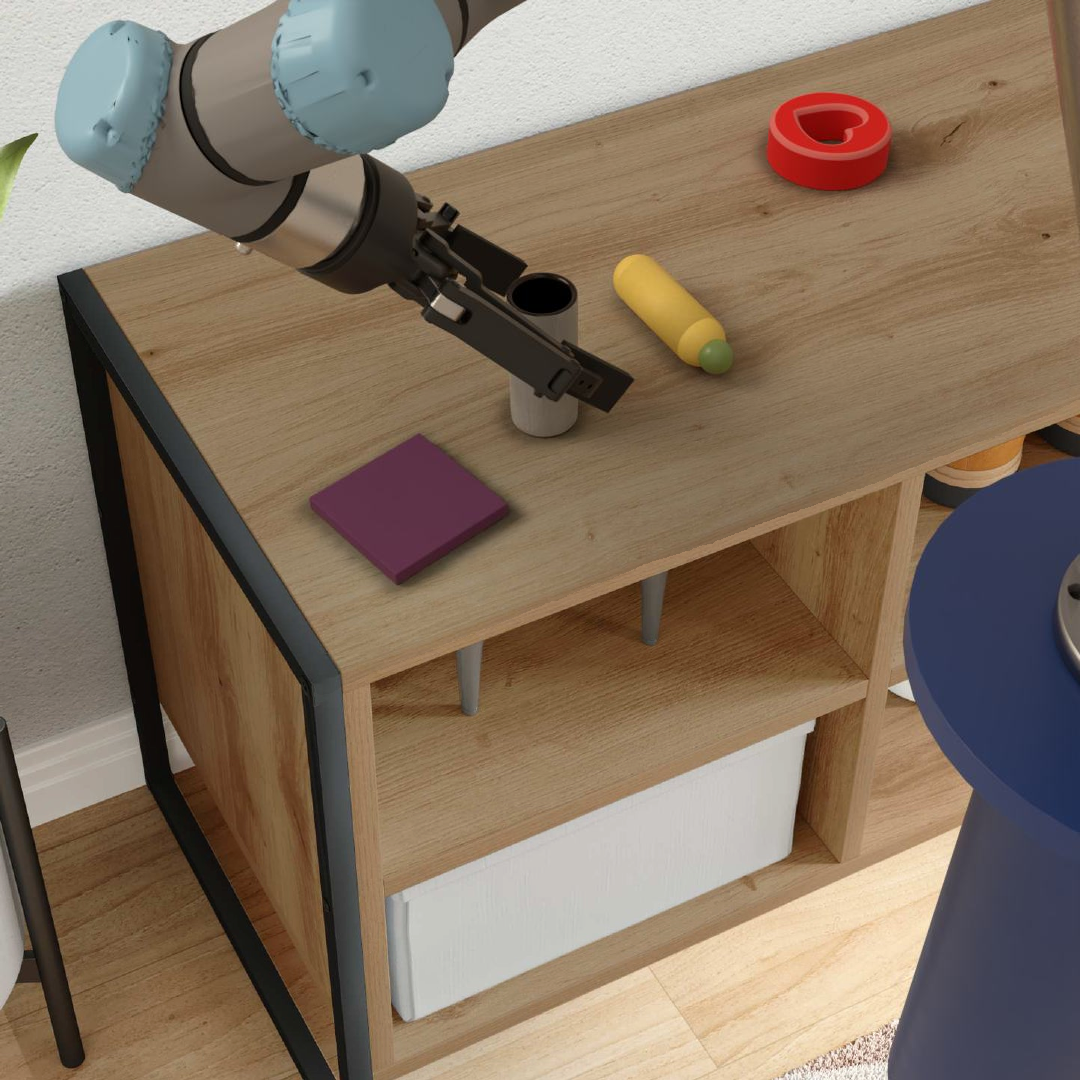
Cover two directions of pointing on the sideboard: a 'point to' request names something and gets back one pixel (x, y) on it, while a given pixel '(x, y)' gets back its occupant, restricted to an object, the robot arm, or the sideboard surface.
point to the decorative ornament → (829, 120)
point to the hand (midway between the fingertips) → (564, 333)
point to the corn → (672, 313)
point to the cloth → (408, 507)
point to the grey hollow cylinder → (556, 314)
